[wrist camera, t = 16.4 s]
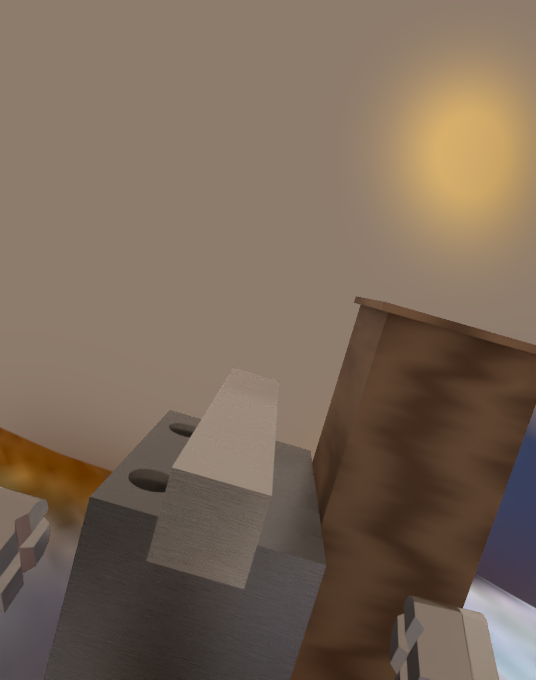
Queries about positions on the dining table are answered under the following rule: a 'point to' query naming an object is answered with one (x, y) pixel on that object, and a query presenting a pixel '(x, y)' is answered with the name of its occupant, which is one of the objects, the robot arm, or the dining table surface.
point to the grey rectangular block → (221, 485)
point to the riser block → (187, 581)
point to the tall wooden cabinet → (409, 477)
